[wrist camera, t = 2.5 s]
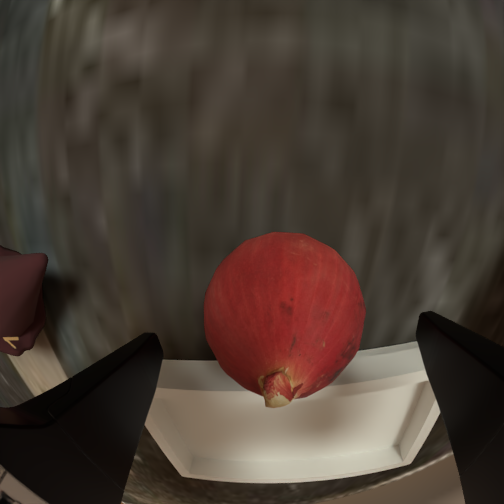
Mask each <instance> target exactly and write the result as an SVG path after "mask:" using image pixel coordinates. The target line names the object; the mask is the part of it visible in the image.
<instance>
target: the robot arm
mask: <svg viewBox="0 0 504 504" xmlns="http://www.w3.org/2000/svg"><path fill="white" fill-rule="evenodd" d="M416 340H417V343H418V346H419V350H420V353H421V356H422V360H423V364H424V367H425V371H426V374H427V377H428V380H429V382H430V385H431V387H432V390H433V393H434V395H435V398H436V401H437V404H438V406H439V409H440V412H441V415H442V418H443V421H444V424H445V427H446V430H447V433H448V436H449V440H450V443H451V446H452V450H453V453H454V457H455V461H456V464H457V467H458V472H459V475H460V481H461V485H462V490H463V494H464V499H465V504H504V347H502V346H500V345H498V344H496V343H494V342H493V341H491V340H489V339H487V338H485V337H483V336H481V335H479V334H477V333H475V332H473V331H471V330H469V329H467V328H465V327H463V326H461V325H459V324H457V323H455V322H453V321H451V320H449V319H447V318H445V317H443V316H441V315H439V314H437V313H435V312H433V311H427V312H422V313H421V314H420V316H419V320H418V325H417V330H416ZM162 361H163V350H162V347H161V344H160V342H159V339H158V336H157V335H156V334H155V333H143V334H142V335H140V336H138V337H137V338H135V339H133V340H132V341H130V342H129V343H127V344H125V345H124V346H122V347H120V348H119V349H117V350H116V351H114V352H112V353H111V354H109V355H107V356H106V357H104V358H102V359H101V360H99V361H97V362H96V363H94V364H93V365H91V366H89V367H88V368H86V369H84V370H83V371H81V372H79V373H78V374H76V375H74V376H73V377H72V378H69V379H68V380H66V381H64V382H63V383H61V384H59V385H57V386H56V387H54V388H52V389H50V390H48V391H46V392H44V393H42V394H40V395H38V396H36V397H34V398H32V399H30V400H28V401H26V402H24V403H22V404H20V405H17V406H15V407H9V408H3V407H0V504H121V500H122V497H123V493H124V489H125V486H126V482H127V479H128V476H129V472H130V469H131V466H132V462H133V459H134V456H135V453H136V449H137V446H138V443H139V440H140V437H141V434H142V431H143V428H144V425H145V421H146V418H147V415H148V412H149V409H150V406H151V404H152V401H153V398H154V395H155V391H156V387H157V383H158V378H159V374H160V369H161V365H162Z"/></svg>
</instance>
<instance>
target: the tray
mask: <svg viewBox="0 0 504 504" xmlns="http://www.w3.org/2000/svg"><path fill="white" fill-rule="evenodd" d="M439 414H440V409H439V406H438V404H437V401H436V398H435V395H434V393H433V390H432V387H431V385H430V382H429V380H428V377H427V374H426V371H425V367H424V364H423V360H422V356H421V353H420V350H419V346H418V343H417V341H415V342H410V343H405V344H399V345H393V346H388V347H381V348H375V349H368V350H361V351H357V353H356V355H355V357H354V358H353V359H352V361H351V362H350V363H349V364H348V365H347V366H346V368H345V369H344V370H343V371H342V372H341V374H340V375H339V376H338V377H337V378H336V379H335V380H334V381H333V382H332V383H331V384H330V385H328V386H326V387H325V388H323V389H321V390H319V391H317V392H315V393H313V394H312V395H310V396H308V397H306V398H300V399H293V400H292V402H291V403H290V404H288V405H286V406H282V407H278V408H269V407H265V400H264V397H263V396H260V395H258V394H255V393H253V392H251V391H248V390H247V389H245V388H243V387H242V386H241V385H239V384H238V383H237V382H236V381H234V380H233V379H232V378H231V377H230V376H228V375H227V374H226V373H225V372H224V371H223V369H222V368H221V367H220V365H219V363H218V361H197V360H165V359H163V361H162V365H161V369H160V374H159V378H158V383H157V387H156V391H155V395H154V398H153V401H152V404H151V406H150V409H149V412H148V415H147V418H146V421H145V426H146V428H147V429H148V431H149V432H150V434H151V435H152V437H153V438H154V440H155V441H156V443H157V444H158V445H159V447H160V448H161V450H162V451H163V452H164V454H165V455H166V456H167V458H168V459H169V460H170V462H171V463H172V464H173V466H174V467H175V468H176V470H177V471H178V472H179V473H180V475H181V476H182V477H189V478H196V479H204V480H214V481H225V482H242V483H293V482H309V481H321V480H330V479H338V478H345V477H352V476H358V475H364V474H369V473H374V472H379V471H384V470H388V469H393V468H397V467H401V466H404V465H408V464H411V462H412V461H413V459H414V458H415V456H416V455H417V453H418V451H419V450H420V448H421V446H422V445H423V443H424V441H425V440H426V438H427V436H428V434H429V433H430V431H431V429H432V427H433V425H434V424H435V422H436V420H437V418H438V416H439Z"/></svg>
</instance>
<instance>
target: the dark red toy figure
mask: <svg viewBox="0 0 504 504" xmlns="http://www.w3.org/2000/svg"><path fill="white" fill-rule="evenodd" d="M47 263H48V257H47V255H46V254H44V253H32V254H23V255H22V254H20V253H19V252H17V251H14V250H10V249H7V248H4V247H2V246H1V245H0V351H1V352H4V353H7V354H10V355H13V356H20V355H22V354H23V352H24V351H26V350H30V349H32V348H33V346H34V343H35V340H36V338H37V336H38V335H39V333H40V331H41V330H42V328H43V327H44V324H45V321H46V312H45V306H44V300H43V289H42V281H43V278H44V275H45V271H46V267H47Z"/></svg>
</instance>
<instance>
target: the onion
mask: <svg viewBox="0 0 504 504" xmlns="http://www.w3.org/2000/svg"><path fill="white" fill-rule="evenodd" d="M365 313H366V308H365V304H364V300H363V297H362V293H361V290H360V286H359V283H358V280H357V277H356V275H355V273H354V271H353V270H352V269H351V268H350V267H349V265H348V264H347V263H346V262H345V261H344V260H343V259H342V257H341V256H340V255H339V254H338V253H337V252H336V251H335V250H334V249H332V248H331V247H329V246H328V245H326V244H324V243H322V242H319V241H317V240H315V239H313V238H311V237H309V236H307V235H305V234H301V233H285V232H272V233H268V234H265V235H262V236H259V237H255V238H252V239H249V240H246V241H244V242H243V243H242V244H241V245H239V246H238V247H237V248H236V249H235V250H234V251H233V252H231V253H230V254H229V255H228V256H227V257H226V258H225V259H224V260H223V261H222V262H221V263H220V265H219V266H218V267H217V269H216V271H215V273H214V275H213V277H212V280H211V282H210V284H209V286H208V288H207V291H206V293H205V301H204V330H205V336H206V340H207V342H208V344H209V346H210V348H211V349H212V351H213V353H214V355H215V357H216V359H217V361H218V363H219V365H220V367H221V368H222V369H223V371H224V372H225V373H226V374H227V375H228V376H230V377H231V378H232V379H233V380H234V381H236V382H237V383H238V384H239V385H241V386H242V387H243V388H245V389H247V390H248V391H251V392H253V393H255V394H258V395H260V396H263V397H264V400H265V407H269V408H278V407H282V406H286V405H288V404H290V403H291V402H292V400H293V399H300V398H306V397H308V396H310V395H312V394H313V393H315V392H317V391H319V390H321V389H323V388H325V387H326V386H328V385H330V384H331V383H332V382H333V381H334V380H335V379H336V378H337V377H338V376H339V375H340V374H341V372H342V371H343V370H344V369H345V368H346V366H347V365H348V364H349V363H350V362H351V361H352V359H353V358H354V357H355V355H356V353H357V351H358V350H359V345H360V340H361V335H362V330H363V324H364V319H365Z"/></svg>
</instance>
